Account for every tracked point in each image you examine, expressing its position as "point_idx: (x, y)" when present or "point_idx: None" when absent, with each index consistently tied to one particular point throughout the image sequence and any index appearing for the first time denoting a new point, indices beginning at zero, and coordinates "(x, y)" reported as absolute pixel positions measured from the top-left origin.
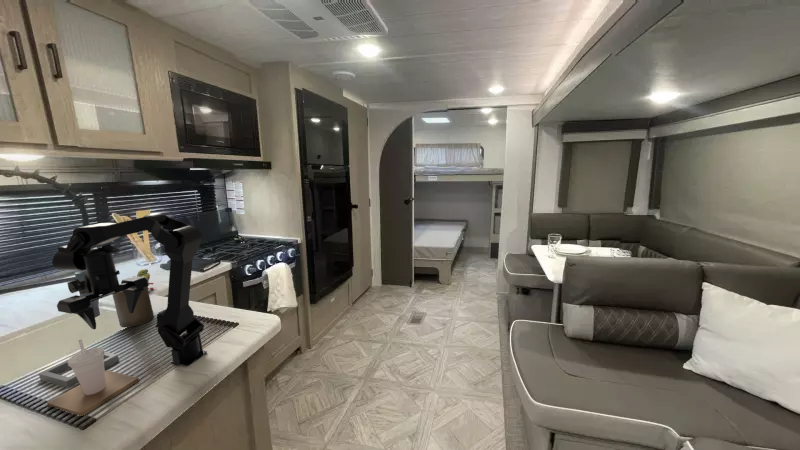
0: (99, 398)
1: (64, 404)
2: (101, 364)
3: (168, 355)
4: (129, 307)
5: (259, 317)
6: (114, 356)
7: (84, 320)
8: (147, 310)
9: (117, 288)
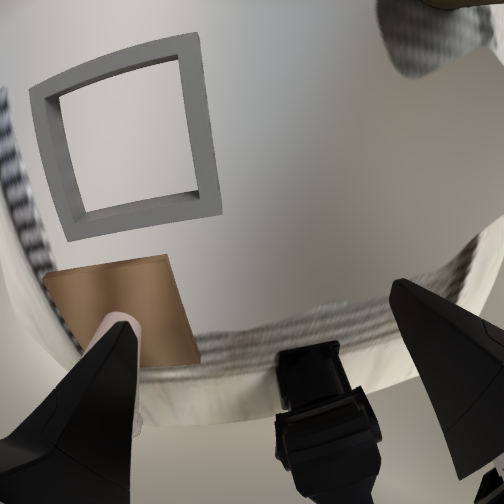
0: None
1: (70, 319)
2: None
3: (303, 316)
4: (416, 328)
5: None
6: (209, 215)
7: (63, 385)
8: (476, 4)
9: None
